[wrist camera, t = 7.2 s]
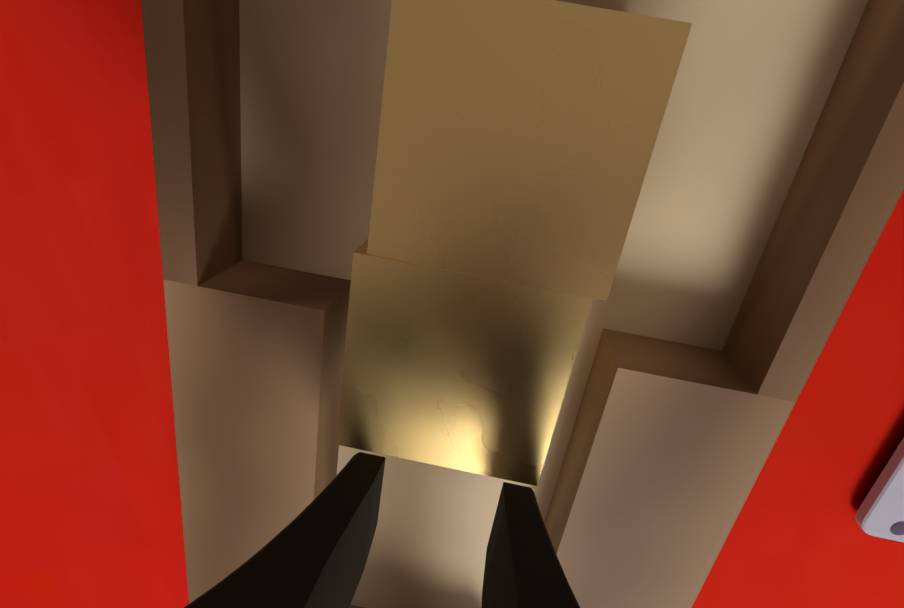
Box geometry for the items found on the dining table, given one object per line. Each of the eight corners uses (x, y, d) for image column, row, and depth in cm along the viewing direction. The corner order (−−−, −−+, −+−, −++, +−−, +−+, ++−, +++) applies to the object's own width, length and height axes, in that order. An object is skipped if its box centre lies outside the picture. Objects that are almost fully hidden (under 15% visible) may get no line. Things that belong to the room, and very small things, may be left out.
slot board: (950, -158, 9) (1135, -267, 6) (572, 725, 20) (581, 824, 18) (223, -256, 10) (110, -392, 7) (240, 649, 21) (199, 732, 18)
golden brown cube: (629, 50, 10) (692, 23, 7) (578, 237, 12) (606, 300, 8) (438, 18, 10) (394, -27, 7) (413, 206, 12) (367, 254, 8)
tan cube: (567, 235, 12) (593, 297, 8) (530, 379, 13) (537, 486, 10) (401, 204, 12) (352, 252, 8) (384, 350, 14) (336, 444, 10)
